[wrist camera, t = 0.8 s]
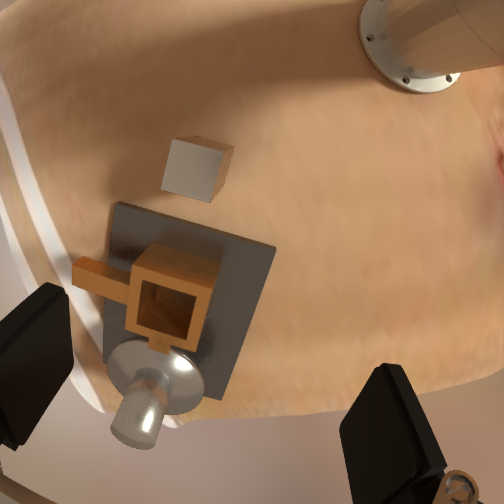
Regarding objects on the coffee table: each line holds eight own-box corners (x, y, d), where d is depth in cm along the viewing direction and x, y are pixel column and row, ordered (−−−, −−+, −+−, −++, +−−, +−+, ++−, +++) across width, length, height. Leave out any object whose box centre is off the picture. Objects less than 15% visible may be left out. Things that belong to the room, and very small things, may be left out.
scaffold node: (105, 197, 33) (20, 243, 19) (276, 247, 35) (280, 328, 21) (94, 353, 42) (49, 425, 28) (222, 395, 43) (207, 482, 30)
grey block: (198, 135, 31) (172, 138, 22) (236, 145, 31) (224, 152, 23) (188, 173, 32) (160, 189, 24) (225, 183, 32) (209, 203, 24)
